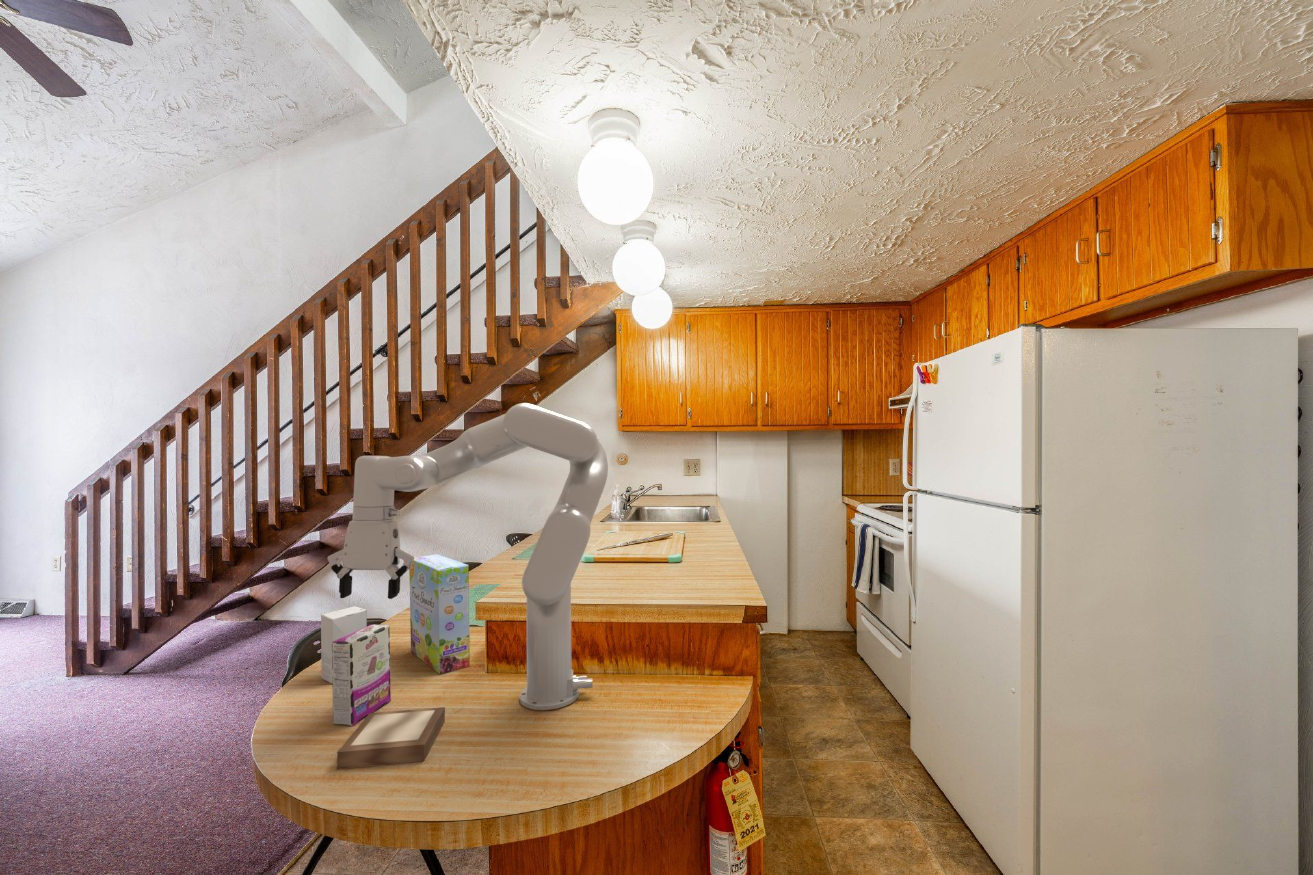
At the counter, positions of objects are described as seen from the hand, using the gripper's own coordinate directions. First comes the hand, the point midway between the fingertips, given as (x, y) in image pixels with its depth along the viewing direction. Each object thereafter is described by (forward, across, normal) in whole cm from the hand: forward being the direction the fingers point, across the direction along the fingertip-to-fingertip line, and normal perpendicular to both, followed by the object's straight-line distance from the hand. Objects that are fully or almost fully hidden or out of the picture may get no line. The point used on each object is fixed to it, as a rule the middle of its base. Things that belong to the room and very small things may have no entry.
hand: (369, 596), depth 111 cm
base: (+23, -12, +13) cm, 29 cm away
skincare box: (+24, +14, -20) cm, 34 cm away
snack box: (+24, -5, -29) cm, 37 cm away
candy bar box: (+24, 0, 0) cm, 24 cm away
